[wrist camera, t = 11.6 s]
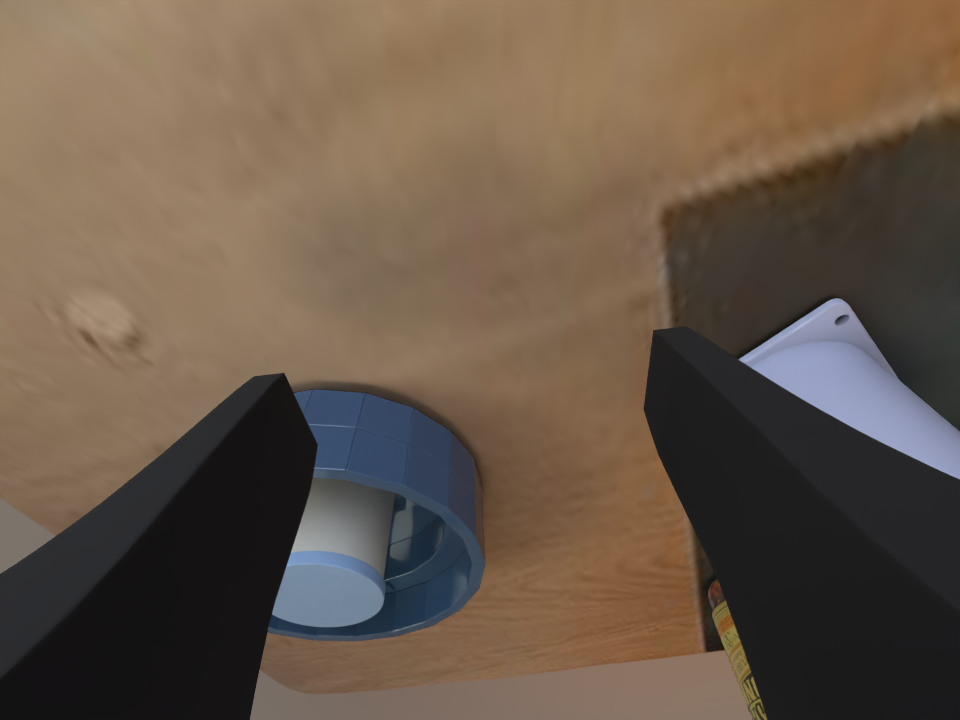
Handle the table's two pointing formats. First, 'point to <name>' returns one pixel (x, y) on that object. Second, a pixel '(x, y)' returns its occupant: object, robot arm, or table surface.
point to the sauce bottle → (735, 650)
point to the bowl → (402, 508)
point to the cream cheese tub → (337, 556)
